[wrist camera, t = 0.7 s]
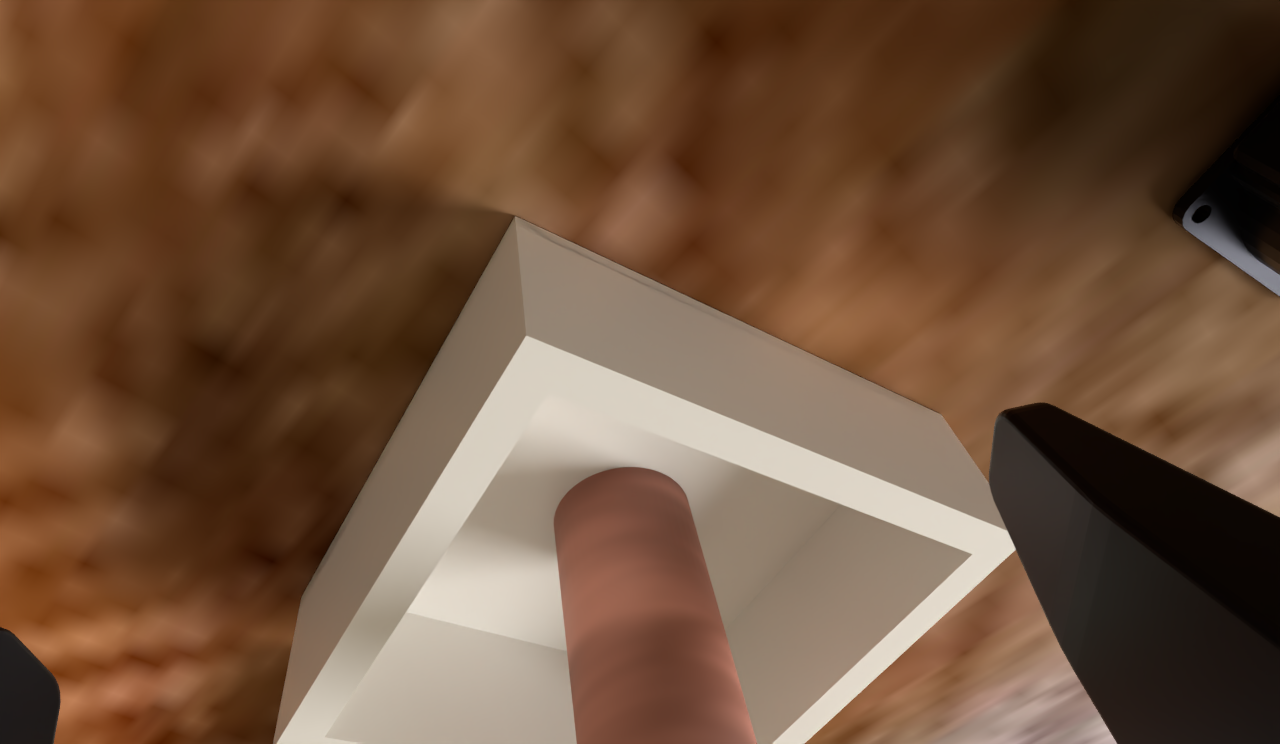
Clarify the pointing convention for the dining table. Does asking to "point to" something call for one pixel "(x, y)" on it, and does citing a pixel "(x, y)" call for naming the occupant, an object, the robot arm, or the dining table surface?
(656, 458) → the square storage bin
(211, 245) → the dining table surface
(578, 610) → the dowel pin
